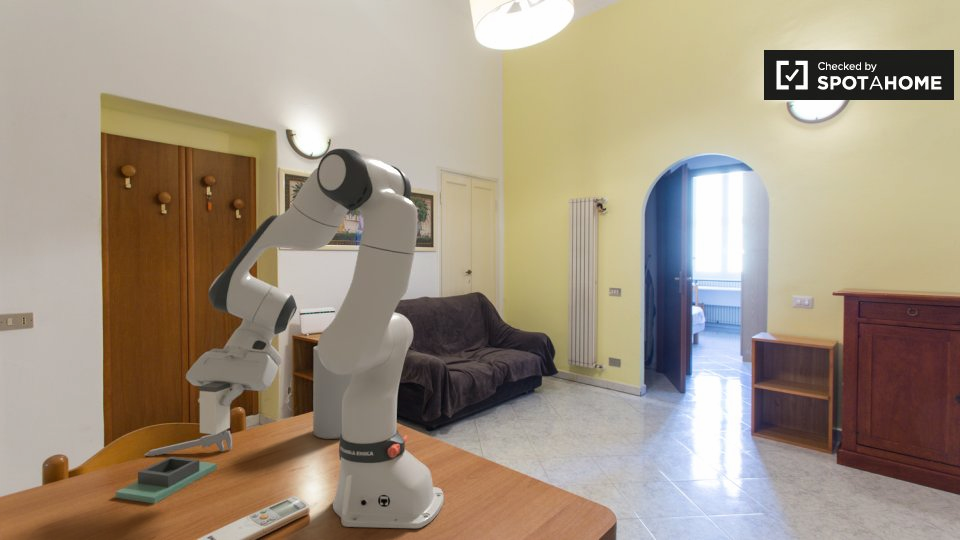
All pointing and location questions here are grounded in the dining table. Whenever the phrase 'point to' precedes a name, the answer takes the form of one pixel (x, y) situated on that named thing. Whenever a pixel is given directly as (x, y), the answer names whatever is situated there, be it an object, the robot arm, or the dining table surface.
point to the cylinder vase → (327, 400)
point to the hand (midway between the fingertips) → (212, 404)
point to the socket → (165, 479)
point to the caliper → (197, 443)
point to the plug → (214, 408)
